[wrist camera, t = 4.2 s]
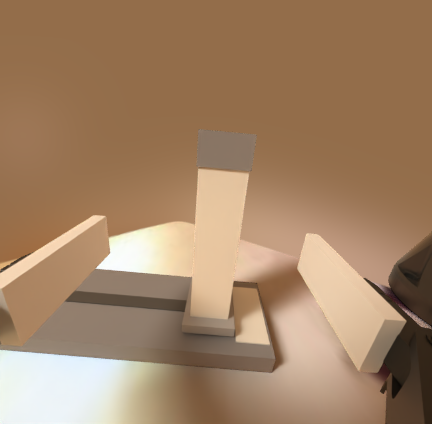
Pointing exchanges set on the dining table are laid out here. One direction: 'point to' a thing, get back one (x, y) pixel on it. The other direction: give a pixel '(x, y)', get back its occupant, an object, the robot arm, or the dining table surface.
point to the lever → (217, 229)
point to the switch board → (151, 324)
